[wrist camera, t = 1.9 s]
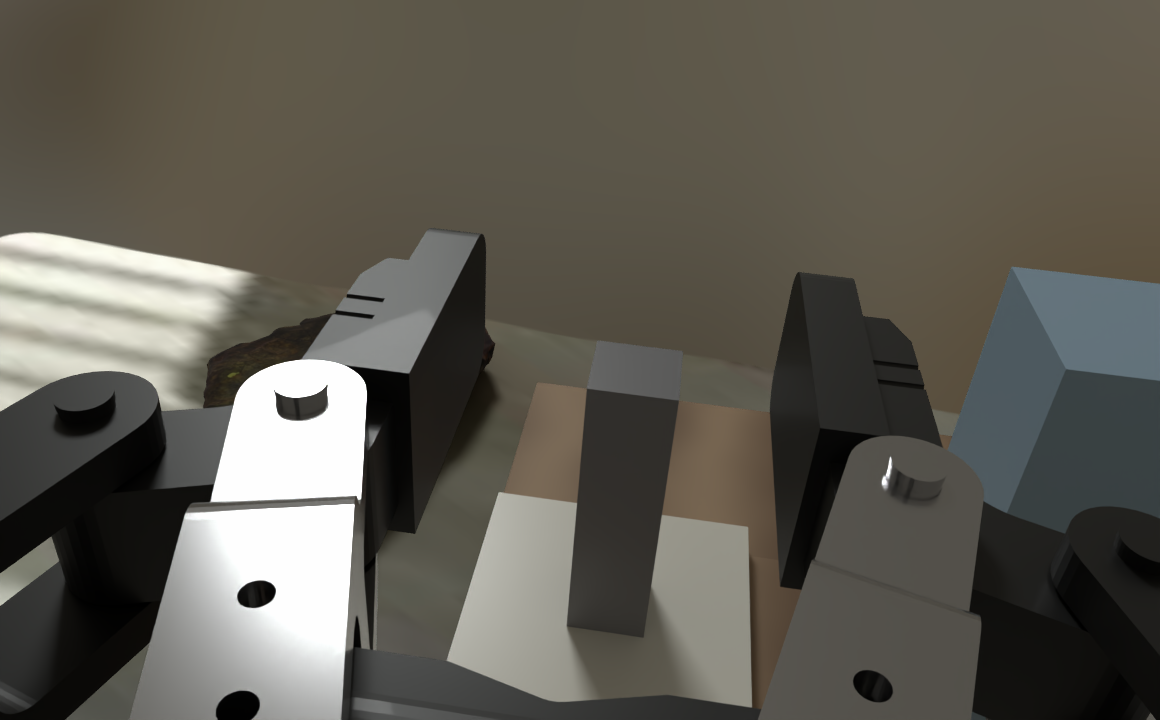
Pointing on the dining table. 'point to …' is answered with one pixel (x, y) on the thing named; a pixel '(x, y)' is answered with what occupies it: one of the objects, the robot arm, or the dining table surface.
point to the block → (1066, 399)
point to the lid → (613, 565)
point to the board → (683, 492)
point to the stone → (272, 359)
